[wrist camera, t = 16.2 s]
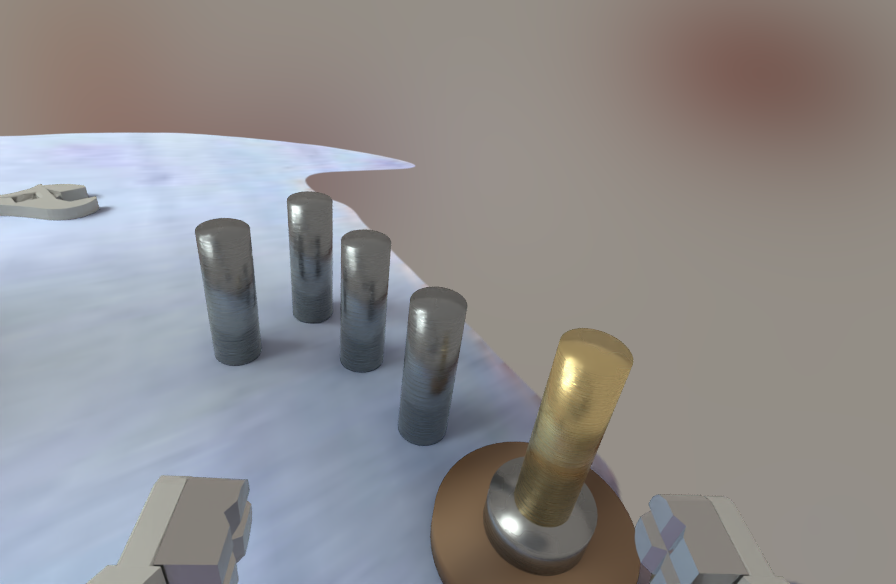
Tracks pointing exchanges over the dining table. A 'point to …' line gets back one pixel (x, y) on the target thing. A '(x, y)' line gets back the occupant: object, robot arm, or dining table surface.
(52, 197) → the adjustable wrench
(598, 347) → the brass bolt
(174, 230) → the dining table surface
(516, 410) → the dining table surface
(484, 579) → the walnut plate
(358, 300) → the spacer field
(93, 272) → the dining table surface
